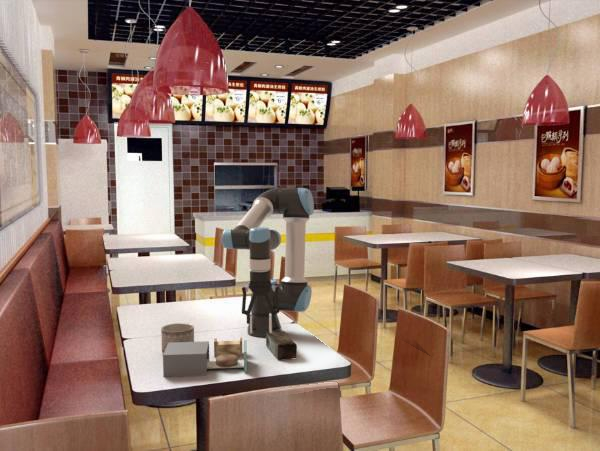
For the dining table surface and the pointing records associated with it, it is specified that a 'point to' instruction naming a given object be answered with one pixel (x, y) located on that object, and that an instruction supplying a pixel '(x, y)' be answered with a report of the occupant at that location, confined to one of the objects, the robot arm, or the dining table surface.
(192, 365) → the housing
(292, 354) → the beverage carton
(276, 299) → the robot arm
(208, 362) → the tray
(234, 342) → the oak block
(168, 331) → the planter
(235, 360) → the walnut disc
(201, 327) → the dining table surface
